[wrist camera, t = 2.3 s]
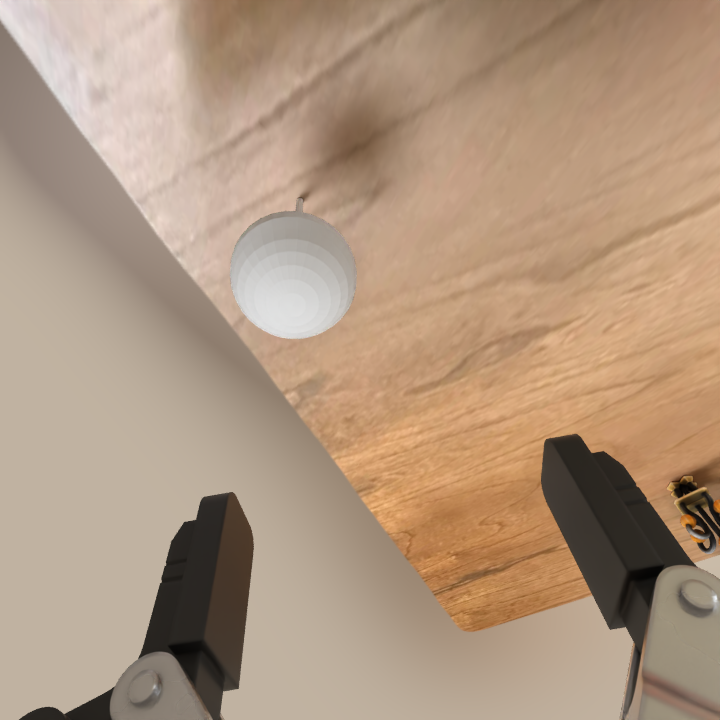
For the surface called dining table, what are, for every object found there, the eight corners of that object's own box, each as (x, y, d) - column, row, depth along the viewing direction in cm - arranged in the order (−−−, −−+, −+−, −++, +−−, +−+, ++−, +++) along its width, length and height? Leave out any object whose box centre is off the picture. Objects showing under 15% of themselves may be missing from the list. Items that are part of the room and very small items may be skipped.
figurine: (663, 508, 56) (718, 570, 49) (649, 487, 53) (704, 549, 46) (702, 486, 54) (763, 546, 48) (689, 464, 52) (751, 523, 45)
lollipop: (247, 155, 31) (204, 241, 18) (339, 149, 31) (357, 228, 19) (263, 248, 34) (236, 371, 22) (346, 241, 35) (365, 360, 22)
